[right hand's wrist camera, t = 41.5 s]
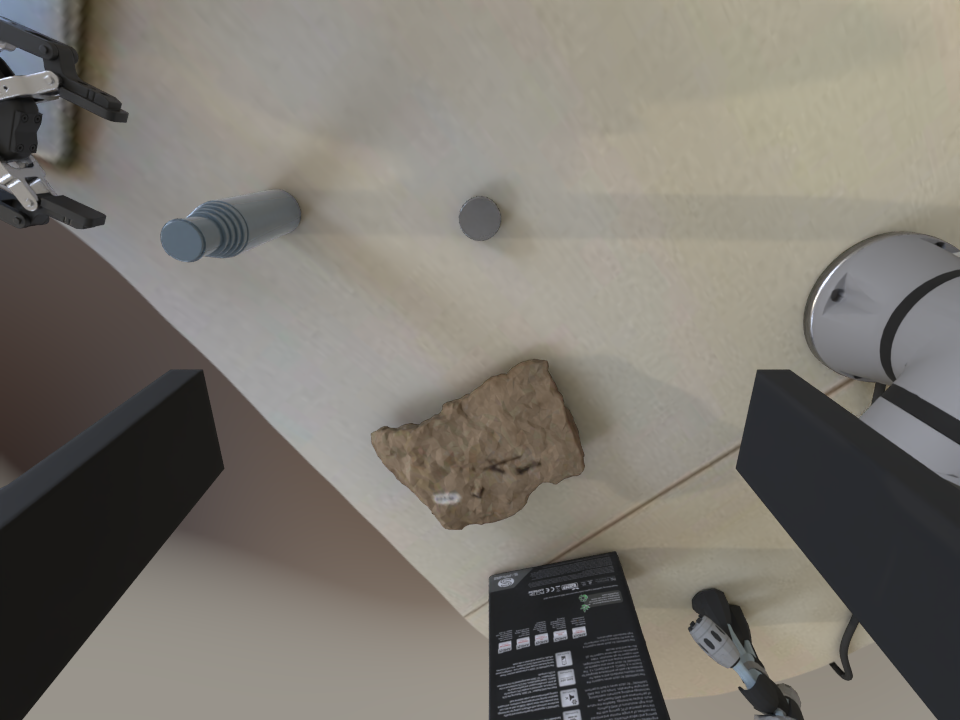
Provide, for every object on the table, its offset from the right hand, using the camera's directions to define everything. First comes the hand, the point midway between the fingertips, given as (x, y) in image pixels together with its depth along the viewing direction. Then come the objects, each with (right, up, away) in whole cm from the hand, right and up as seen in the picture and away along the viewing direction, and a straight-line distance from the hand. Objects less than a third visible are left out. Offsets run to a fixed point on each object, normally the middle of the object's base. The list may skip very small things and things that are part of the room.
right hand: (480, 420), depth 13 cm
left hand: (-29, +16, +28) cm, 43 cm away
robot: (+32, -31, +57) cm, 72 cm away
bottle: (-19, +16, +38) cm, 45 cm away
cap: (0, +15, +36) cm, 39 cm away
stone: (0, -7, +47) cm, 47 cm away
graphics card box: (+10, -27, +55) cm, 62 cm away
